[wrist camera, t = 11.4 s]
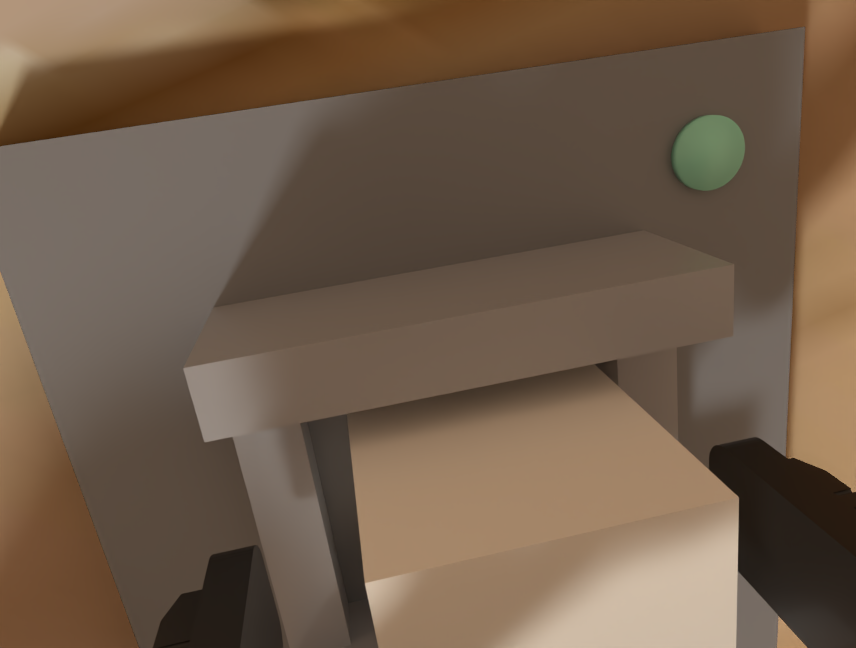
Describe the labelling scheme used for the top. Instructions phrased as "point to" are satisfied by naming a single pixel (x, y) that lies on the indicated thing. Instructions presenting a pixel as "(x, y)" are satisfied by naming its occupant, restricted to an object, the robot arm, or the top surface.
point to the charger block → (540, 522)
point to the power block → (397, 293)
